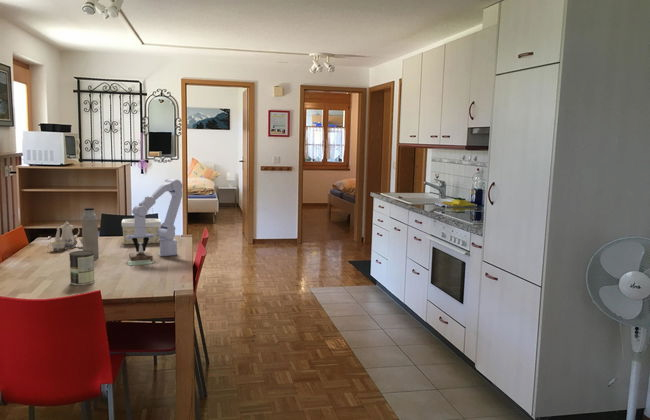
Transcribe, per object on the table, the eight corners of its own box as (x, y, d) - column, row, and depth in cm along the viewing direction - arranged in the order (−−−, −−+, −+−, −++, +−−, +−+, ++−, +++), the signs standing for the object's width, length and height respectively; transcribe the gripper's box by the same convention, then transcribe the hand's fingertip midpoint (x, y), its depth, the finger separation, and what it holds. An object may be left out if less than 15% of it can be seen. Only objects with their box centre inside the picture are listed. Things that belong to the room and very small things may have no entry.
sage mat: (150, 260, 293) (149, 259, 293) (152, 264, 285) (152, 262, 285) (126, 262, 288) (126, 261, 288) (128, 265, 280) (128, 264, 280)
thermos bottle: (90, 255, 302) (88, 207, 298) (101, 257, 299) (100, 207, 296) (79, 258, 294) (77, 208, 291) (91, 260, 292) (89, 209, 288)
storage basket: (160, 239, 357) (160, 217, 355) (161, 243, 341) (161, 221, 340) (122, 240, 349) (122, 218, 347) (121, 245, 334) (121, 222, 332)
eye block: (149, 256, 304) (149, 251, 304) (152, 260, 294) (152, 255, 294) (129, 257, 299) (129, 253, 299) (131, 261, 290) (131, 257, 289)
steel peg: (143, 258, 299) (143, 242, 298) (144, 259, 296) (143, 243, 295) (137, 258, 298) (137, 242, 296) (138, 259, 295) (137, 243, 294)
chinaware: (55, 256, 307) (56, 228, 304) (39, 249, 316) (39, 222, 313) (98, 248, 331) (99, 222, 328) (82, 242, 339) (83, 217, 336)
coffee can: (66, 285, 241) (65, 254, 239) (75, 279, 251) (74, 250, 249) (90, 285, 242) (89, 255, 240) (97, 279, 252) (96, 250, 250)
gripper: (152, 225, 301) (153, 248, 303) (125, 226, 295) (126, 250, 297) (154, 227, 295) (155, 251, 297) (126, 228, 289) (127, 253, 290)
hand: (140, 251), depth 296 cm, fingers closed on steel peg, 3 cm apart
